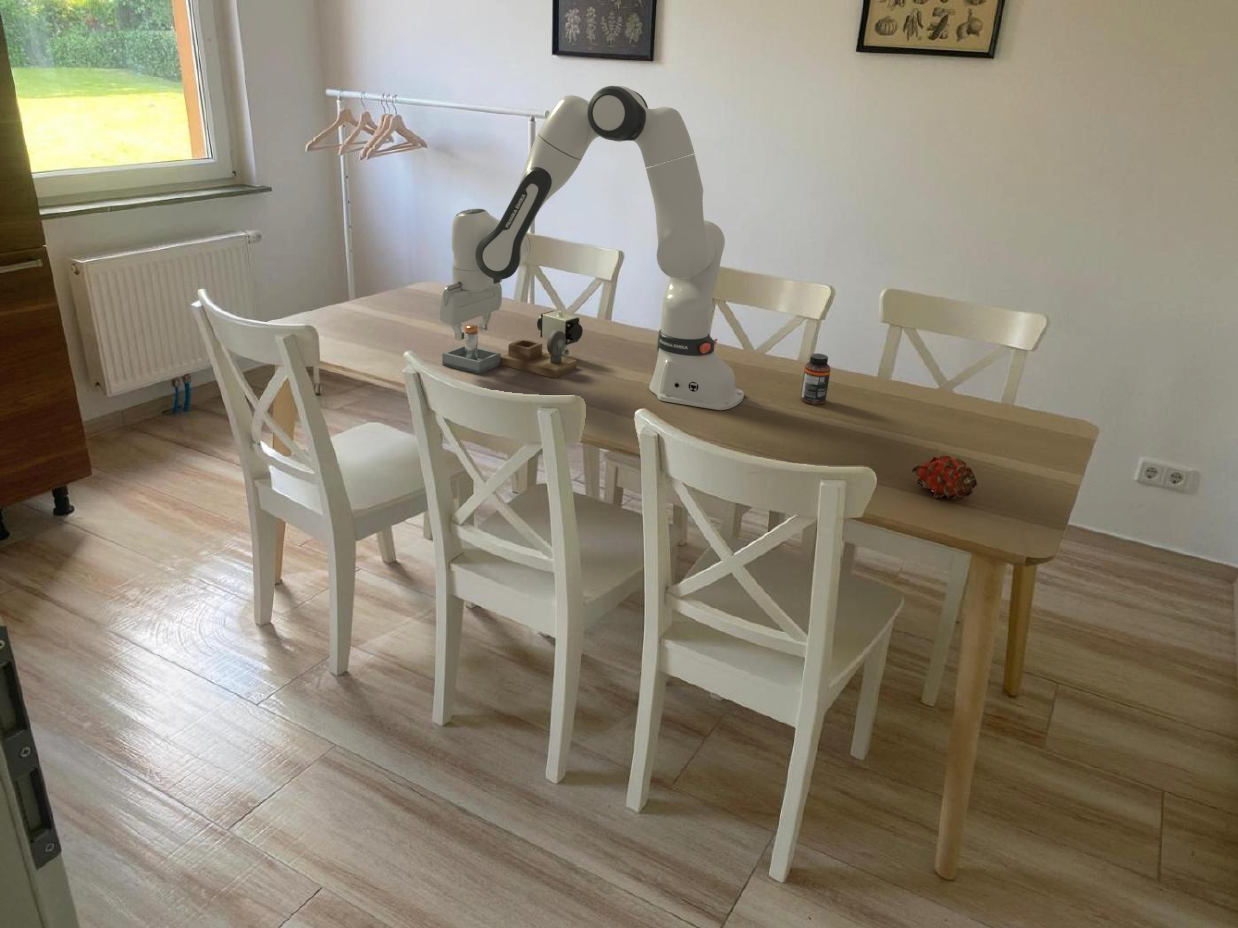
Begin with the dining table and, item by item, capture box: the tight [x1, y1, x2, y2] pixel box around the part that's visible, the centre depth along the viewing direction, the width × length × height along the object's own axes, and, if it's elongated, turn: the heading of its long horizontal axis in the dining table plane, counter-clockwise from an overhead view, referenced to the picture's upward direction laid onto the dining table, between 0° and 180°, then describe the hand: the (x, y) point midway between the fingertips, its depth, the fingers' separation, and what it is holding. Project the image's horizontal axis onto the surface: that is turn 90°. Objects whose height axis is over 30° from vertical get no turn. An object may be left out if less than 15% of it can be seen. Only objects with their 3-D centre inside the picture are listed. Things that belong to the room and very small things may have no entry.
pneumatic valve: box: [536, 310, 583, 358], centre depth 231 cm, size 6×12×12 cm, turn 53°
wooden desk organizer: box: [500, 330, 578, 379], centre depth 223 cm, size 16×10×10 cm, turn 62°
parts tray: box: [441, 344, 502, 375], centre depth 223 cm, size 11×9×3 cm
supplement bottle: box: [800, 353, 831, 406], centre depth 212 cm, size 6×6×11 cm
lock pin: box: [464, 324, 479, 361], centre depth 221 cm, size 3×3×9 cm
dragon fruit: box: [911, 454, 978, 500], centre depth 170 cm, size 8×8×12 cm
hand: (471, 335), depth 220 cm, fingers open, 8 cm apart
